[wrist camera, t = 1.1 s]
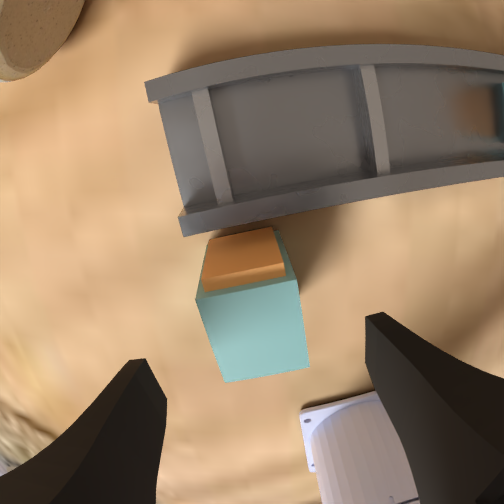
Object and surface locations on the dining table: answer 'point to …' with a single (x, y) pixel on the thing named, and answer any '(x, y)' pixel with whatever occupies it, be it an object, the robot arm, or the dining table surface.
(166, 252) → the dining table surface
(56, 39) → the ceramic mug
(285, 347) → the teal and orange block
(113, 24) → the dining table surface
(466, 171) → the rail
